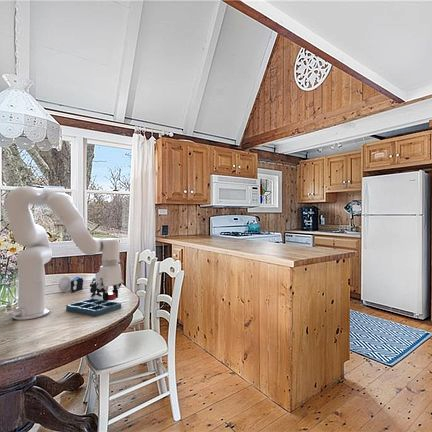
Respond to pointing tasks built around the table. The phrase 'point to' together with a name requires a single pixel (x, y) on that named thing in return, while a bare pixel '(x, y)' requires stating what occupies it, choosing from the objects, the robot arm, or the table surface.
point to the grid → (93, 307)
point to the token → (112, 296)
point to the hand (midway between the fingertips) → (110, 298)
